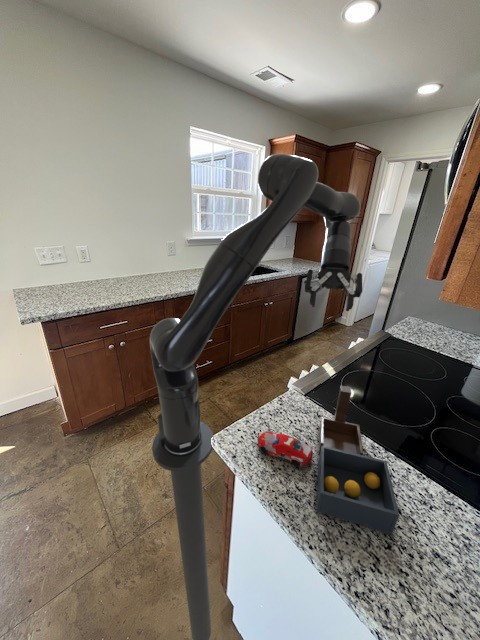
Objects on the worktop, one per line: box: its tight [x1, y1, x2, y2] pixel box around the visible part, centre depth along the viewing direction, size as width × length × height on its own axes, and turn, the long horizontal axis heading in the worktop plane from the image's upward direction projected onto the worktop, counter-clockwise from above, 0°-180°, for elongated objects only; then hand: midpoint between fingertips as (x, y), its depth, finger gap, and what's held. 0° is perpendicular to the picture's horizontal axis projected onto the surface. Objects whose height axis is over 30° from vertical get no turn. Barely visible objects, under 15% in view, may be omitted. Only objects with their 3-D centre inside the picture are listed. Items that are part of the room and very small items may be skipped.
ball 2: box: [344, 480, 360, 498], centre depth 53 cm, size 3×3×3 cm
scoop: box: [318, 385, 364, 457], centre depth 64 cm, size 11×9×13 cm
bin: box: [316, 446, 400, 535], centre depth 53 cm, size 13×11×6 cm
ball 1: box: [324, 476, 339, 493], centre depth 54 cm, size 3×3×3 cm
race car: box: [257, 431, 314, 468], centre depth 63 cm, size 13×5×4 cm, turn 62°
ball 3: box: [364, 472, 380, 489], centre depth 55 cm, size 3×3×3 cm
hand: (330, 307), depth 68 cm, fingers open, 8 cm apart
